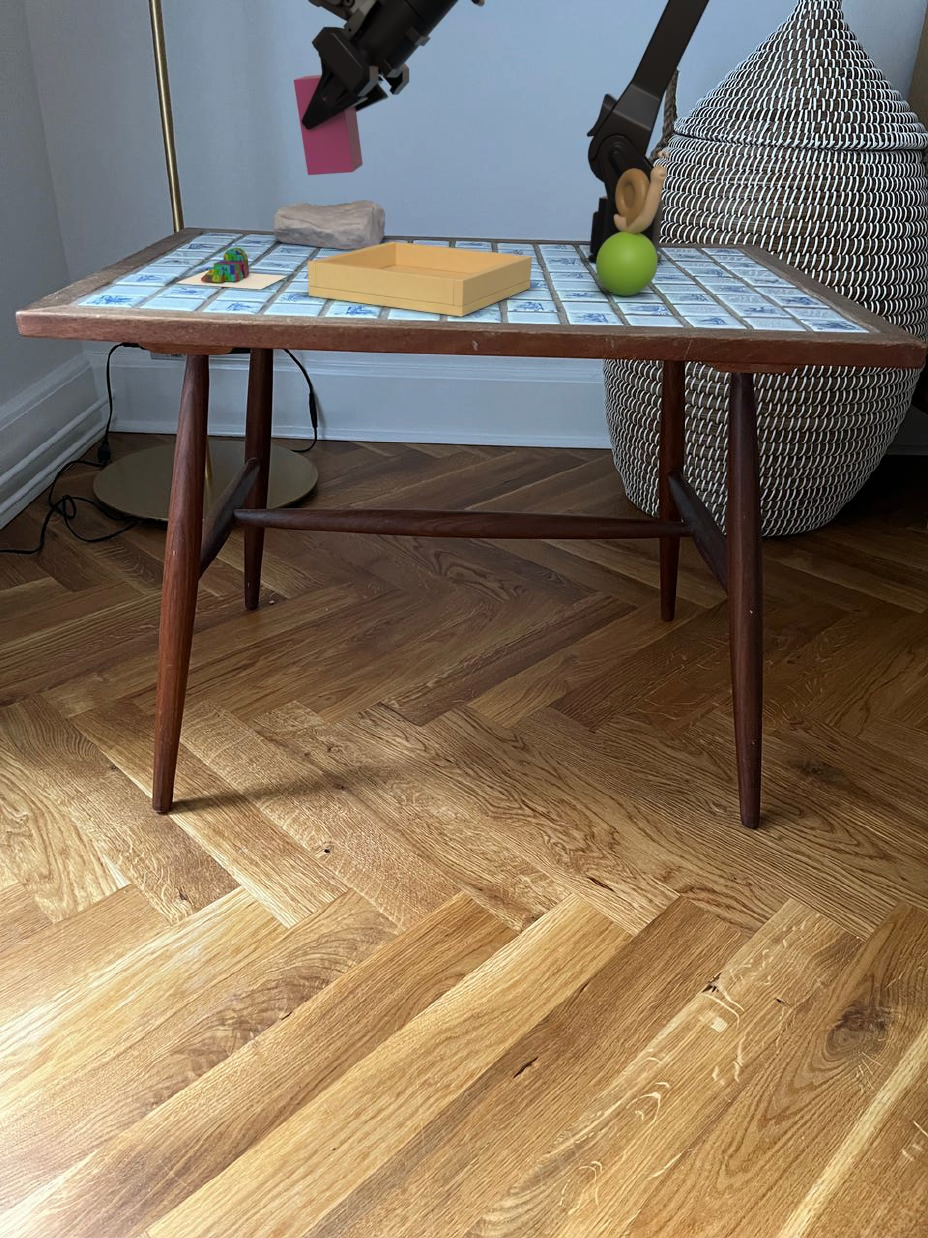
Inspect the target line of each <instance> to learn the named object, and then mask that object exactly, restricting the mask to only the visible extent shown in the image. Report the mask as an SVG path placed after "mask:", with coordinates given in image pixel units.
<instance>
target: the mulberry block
mask: <svg viewBox="0 0 928 1238" xmlns="http://www.w3.org/2000/svg"><path fill="white" fill-rule="evenodd" d="M321 75H322V74H315V75H314V74H313V75H305V76H302V77H298V78H295V79H293V86H294V92H295V99H296V106H297V112H298V118H299V125H300V133H301V138H302V146H303V150H304V151H303V152H304V158H305V166H306V172H307V175H308V176H316V175H317V176H318V175H331V174H333V175H334V174H346V173H348V174H349V173H353V172H355V171H357V170H358V169H359V168H361V167H362V166H363V156H362V150H361V149H362V147H361V140H360V131H359V123H358V115H357V112H356V106H353V107H351V108H349V109H348V110H346V111H344V112H342V113H340V114H338V115H336V116H334V117H333V118H331V119H329V120H327V121H325V122H323V123H321V124H319V125H318V126H316V127H314V128H312V129H309V130H308V129H307V128H306V127H305V126H304V125H303V124H302V122H301V121H302V118H303V116H304V114H305V112H306V109H307V107H308V105H309V103H310V101H311V98H312V96H313V94H314V92H315V90H316V87H317V85H318V83H319V80H320V78H321Z"/></svg>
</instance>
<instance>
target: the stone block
mask: <svg viewBox="0 0 928 1238" xmlns="http://www.w3.org/2000/svg"><path fill="white" fill-rule="evenodd" d="M385 227H386V213H385V210H384V208H383V207H382V206H381V205H380V204H378V203H376V202H373V201H372V200H366V199H365V200H356V201H353V202H345V203H339V204H328V205H317V204H310V203H308V202H305V201H303V202H298V203H296V204H294V205H284V206H282V207H280V208H278V210H277V211H276V212H275V214H274V218H273V235H274V239H275V240H276V241H277V242H280V243H283V244H292V245H302V246H309V247H316V248H325V249H331V248H332V249H336V250H348V251H349V250H350V251H351V250H358V249H362V248H367V247H371V246H375V245H379V244H381V243H382V241H383V239H384V237H385Z"/></svg>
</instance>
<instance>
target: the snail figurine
mask: <svg viewBox="0 0 928 1238" xmlns="http://www.w3.org/2000/svg"><path fill="white" fill-rule="evenodd" d="M671 155H672V154H671V152H670V151H669V150H666V151H665V152H664V151H663V150H660V151H658V152H657V157H658V159H659V165H656V166H654V168H653V170H652V171H651V175H650V178H651V183H649V180H648V178H647V176H646V175H645V174H644V172H642V171H641V170H639V169H635V168H634V169H629V170H627V171H626V172H625V173H624V174H623V175H622V176H621V177H620V179H619V181H618V184H617V187H616V194H615V201H616V206H617V209H618V212H619V214H620V215H618V214H615V215H614V221H615V224H616V227H617V228H618V229H619V230H620V231H621V232H619V233H617V234H614V235H613V236H611V237H610V238H609V239H607V240H606V241H605V242H604V244H603V245H602V247H601V248H600V250H599V253H598V255H597V260H596V261H595V271H596V275H597V278H598V280H599V282H600V283H601V284H602V286H603V287H604V288H605V289H606V290H607V291H609V292H610V293H611V294H614V295H617V296H623V297H628V296H633V295H636V294H639V293H640V292H642V291H644V290H645V289H646V288H647V287H649V285H650V284H651V283H652V281H653V280H654V278H655V276H656V273H657V270H658V263H659V260H658V259H657V253H656V250H655V247H654V246H653V244H652V242H651V241H650V240H649V239H648V238H647V237H646V236H644V235H642V234H640V232H642V231H643V230H645V229H646V228H647V227H648V226H649V225H650V224H651V223H652V221H653V219H654V217H655V214H656V211H657V209H658V205H659V202H660V200H661V198H662V195H663V194H662V193H663V186H664V184H665V182H666V179H667V174H668V173H667V165H668V159H670V157H672V156H671ZM663 158H665V159H666V162H665V166H663V165H662V164H661V163H662V159H663Z"/></svg>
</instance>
